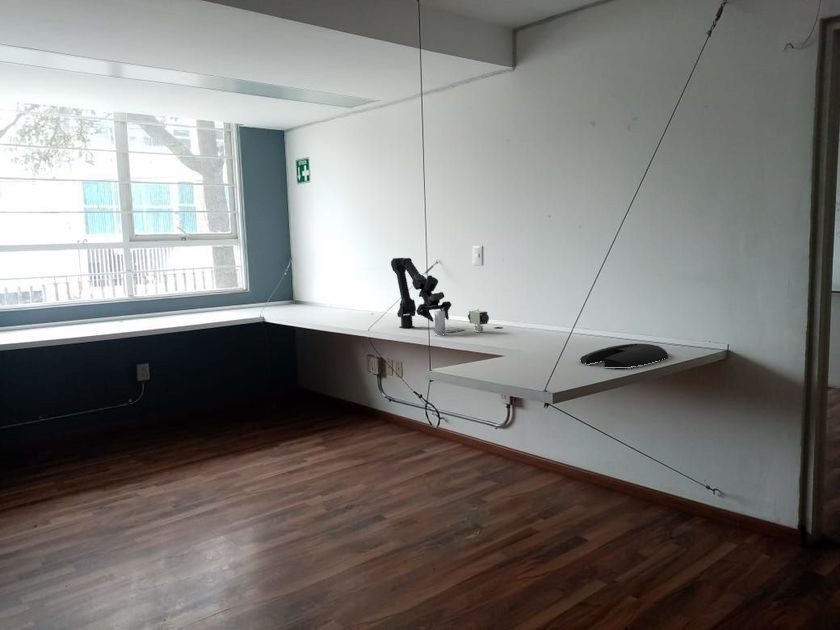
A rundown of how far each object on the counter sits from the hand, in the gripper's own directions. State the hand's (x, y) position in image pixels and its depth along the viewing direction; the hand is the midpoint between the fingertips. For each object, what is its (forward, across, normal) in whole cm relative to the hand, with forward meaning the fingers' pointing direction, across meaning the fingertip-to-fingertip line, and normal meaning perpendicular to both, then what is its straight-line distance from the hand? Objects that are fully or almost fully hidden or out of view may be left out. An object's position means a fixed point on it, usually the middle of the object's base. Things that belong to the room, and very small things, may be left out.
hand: (440, 320), depth 347 cm
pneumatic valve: (+10, +19, +1) cm, 22 cm away
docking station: (+80, +21, -67) cm, 106 cm away
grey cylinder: (+5, 0, +6) cm, 8 cm away
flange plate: (0, +10, +11) cm, 15 cm away
